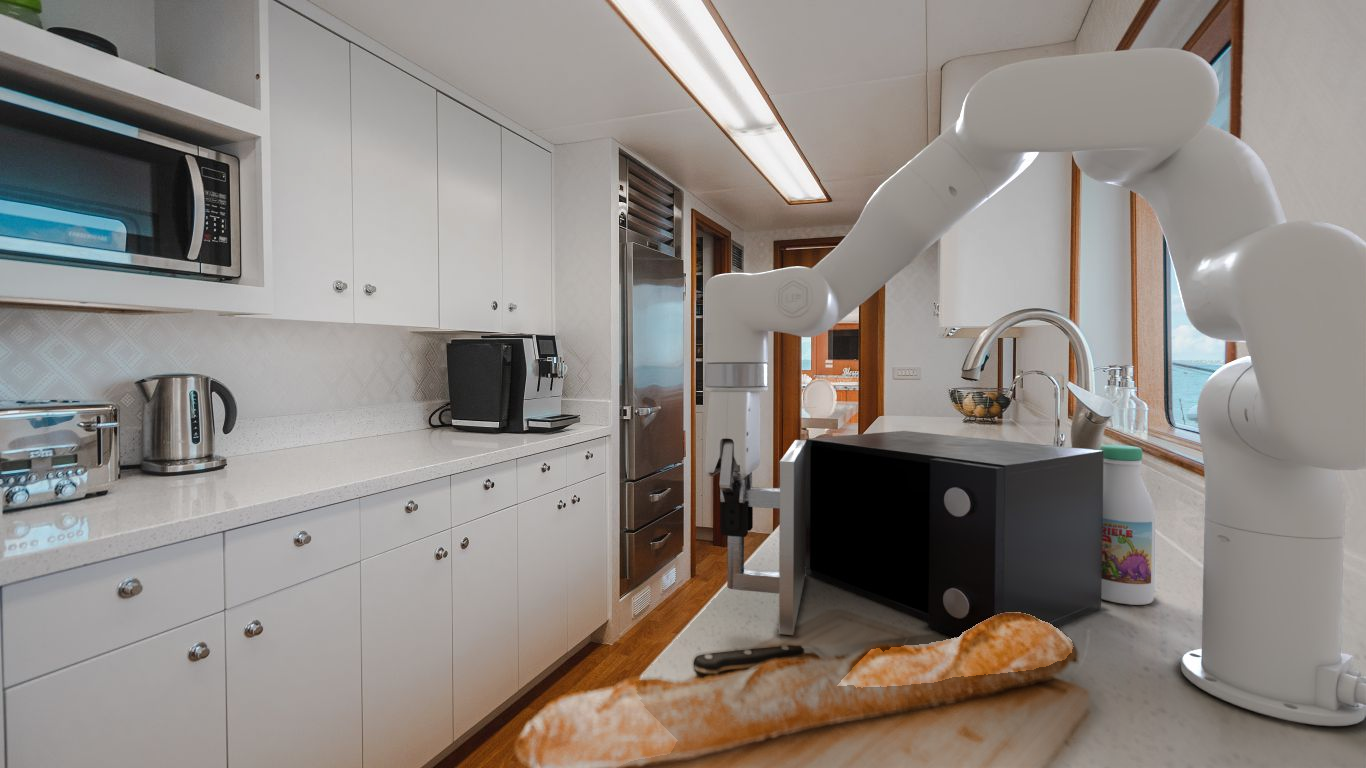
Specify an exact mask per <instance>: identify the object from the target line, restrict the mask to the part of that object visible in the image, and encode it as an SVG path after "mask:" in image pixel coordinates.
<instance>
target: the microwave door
mask: <svg viewBox="0 0 1366 768" xmlns="http://www.w3.org/2000/svg"><path fill="white" fill-rule="evenodd" d="M806 446H807V445H806V439H801V440H800V439H795V440H794V441H793V442H792V444H791V445H790V447H789V448H788V449H787V451H786V452H785V454H784V455H783V456H782V458H781V459H780V460H779V487H763V486H762V487H759V486H752V487H745V502H748V507H753V508H762V509H779V538H778V539H779V541H778V542H779V545H778V548H779V549H778V551H779V553H778V555H779V559H778V562H779V563H778V564H779V566H778V567H779V568H778V571H776V570H775V571H774V570H764V569H751V568H745V537H736V536H726V537H727V543H726V544H727V545H726V546H727V547H726V548H727V550H726V551H727V553H726V554H727V558H726V559H727V562H726V563H727V572H726V573H727V574H726V575H727V578H726V580H727V581H726V586H727V588H728V589H729V590H733V591H743V592H755V593H765V594H775V595H776V594H778V633H779V634H780V635H785V636H787V635H788V636H794V633H795V629H796V628H795V627H796V623H797V617H798V613H799V608H800V603H801V598H802V594H803V589H804V584H805V578H806Z"/></svg>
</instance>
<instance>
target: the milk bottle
mask: <svg viewBox="0 0 1366 768" xmlns="http://www.w3.org/2000/svg"><path fill="white" fill-rule="evenodd" d="M1099 450H1101V451H1104V458H1103V459H1104V465H1103V525H1102V585H1101V600H1104V601H1108V602H1111V603H1117V604H1124V605H1132V606H1133V605H1135V606H1141V605H1148V604H1152V603H1153V601H1154V599H1155V592H1156V591H1155V589H1156V585H1155V584H1156V536H1157V535H1156V533H1157V531H1156V529H1157V528H1156V511H1155V506H1154V502H1153V499H1152V497H1151V495H1150V493H1149V491H1148V489H1147V487H1146V485H1145V483H1144V481H1143V477H1142V474H1141V467H1140V466H1141V465H1142V464H1143V462H1142V460H1143V448H1141V447H1140V446H1139V447H1138V446H1134V445H1124V444H1103V445H1101V446H1100V447H1099Z"/></svg>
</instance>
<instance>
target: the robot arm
mask: <svg viewBox="0 0 1366 768" xmlns="http://www.w3.org/2000/svg"><path fill="white" fill-rule="evenodd" d="M1219 98H1220V83H1219V79H1218V76H1217V73H1216V71H1215V69H1214V67H1213V66H1212V64H1210V63H1209V62H1208V61H1207V60H1206V59H1204V58H1203V57H1201V56H1200V55H1197V54H1196V53H1195V52H1192V51H1188V50H1184V49H1181V48H1172V47H1171V48H1170V47H1145V48H1144V47H1143V48H1134V49H1123V50H1113V51H1101V52H1090V53H1081V54H1070V55H1069V54H1068V55H1060V56H1051V57H1041V58H1033V59H1028V60H1027V59H1026V60H1021V61H1018V62H1017V61H1016V62H1014V63H1008V64H1005V65H1002V66H1000V67H998V68H995V69H993V70H991V71H989V72H987V73H986V74H985V75H983V76H982V77H980V78H979V79H978V80H977V81H976V82H974V84H973V85H972V86H971V88H970V90H969V91H968V93H967V95H966V96H965V99H964V101H963V102H962V103H963V104H962V108H961V112H960V114H959V115H960V116H959V117H958V119H956V121H954V122H953V123H952V124H951V125H950V126H949V127H947V128H946V129H945V130H944V131H943V132H941V133H940V135H938V136H937V137H936V138H935V139H934V140H933V141H931V142H930V143H929V144H927V145H926V147H924V148H922V150H920V152H919V153H917V154H916V155H915V156H914V157H913V158H911V159H910V160H908V162H907V163H906V164H905V165H903V166H902V167H901V168H900V169H898V170H897V171H896V172H895V173H894V174H893V175H891V176H890V177H889V178H887V179H886V180H885V181H884V182H883V183H882V184H880V186H878V187H877V189H876V190H875V192H873V194H872V195H871V196H870V197H869V199H868V201H867V203H866V204H865V206H864V208H863V210H862V212H861V214H860V216H859V218H858V219H857V221H856V222H855V223H854V225H853V226H852V228H851V229H850V231H849V232H848V233H847V234H846V236H845V237H844V238H843V239H842V240H841V241H840V242H839V243H838V245H837V246H835V248H833V250H831V251H830V252H829V253H828V254H827V255H825V256H824V258H822V259H821V260H820V261H819V262H817V263H816V264H815V265H814V266H813V267H811V268H810V267H807V266H800V265H799V266H797V265H796V266H787V267H783V268H778V269H773V270H768V271H763V272H758V273H748V272H731V273H721V274H715V275H714V276H712V277H710V278H709V279H708V280H707V281H706V284H705V288H704V391H705V392H709V398H708V406H707V414H706V415H707V416H706V431H705V458H704V461H705V462H704V473H705V474H706V475H707V476H708V477H714V476H715V475H717V474H719V481H718V482H719V489H720V491H719V492H720V494H719V496H720V497H719V500H720V501H719V514H720V515H719V516H720V517H719V521H720V522H719V524H720V526H719V527H720V531H719V532H720V535H722V536H724V537H727V536H736V537H744V538H746V537H747V536H748V535H749V532H750V531H752V530H753V528H754V527H753V526H754V520H753V519H754V507H748V502H745V487H753V472H754V471H755V470H756V469H757V468H758V467H759V465H760V462H761V448H762V447H761V443H762V442H761V439H762V438H761V437H762V436H761V434H762V433H761V432H762V431H761V429H762V428H761V427H762V426H761V398H760V397H761V396H760V393H761V392H762V393H763V392H769V332H775V333H782V334H788V335H793V336H797V337H801V338H813V337H818V336H820V335H822V334H824V333H827V332H828V331H829V330H830V329H832V328H833V327H835V326H836V325H837V324H839V323H840V322H841V321H842V320H843V319H844V318H846V317H847V316H848V315H850V314H852V312H854V311H855V310H856V309H857V308H858V307H859V306H861V305H862V304H863V303H865V302H866V301H867V300H868V299H869V298H871V297H872V296H873V295H874V294H875V293H876V292H878V291H879V290H880V289H881V288H882V287H884V285H886V284H887V283H888V282H889V281H890V280H892V279H893V278H894V277H896V275H898V274H899V273H901V272H902V271H903V270H904V269H905V268H907V267H908V266H909V265H911V264H912V263H913V262H915V261H916V260H917V259H918V258H919V257H920V256H921V255H922V254H923V253H924V252H925V251H926V250H927V249H929V248H931V246H932V245H934V243H936V242H937V241H938V240H939V239H941V238H942V237H943V236H945V235H946V234H947V233H948V232H950V230H952V229H953V228H954V227H955V226H956V225H957V224H959V223H960V222H961V221H962V220H964V219H965V218H966V217H968V216H969V215H970V214H971V213H972V212H974V211H975V210H977V208H979V207H980V206H982V204H984V203H985V202H986V201H989V199H990V198H992V197H993V196H994V195H995V194H997V193H998V192H999V191H1000V190H1002V189H1003V188H1004V187H1006V186H1007V185H1008V184H1009V183H1010V182H1012V181H1013V180H1014V179H1016V178H1017V177H1018V176H1019V175H1020V174H1021V173H1022V172H1024V171H1025V169H1027V168H1028V167H1029V166H1030V165H1031V164H1032V163H1033V161H1034V160H1035V159H1036V158H1037V157H1038V155H1039V153H1071V155H1072V157H1073V161H1074V162H1075V164H1076V166H1077V168H1078V169H1079V170H1080V172H1082V173H1083V174H1084V175H1085V176H1087V177H1089V178H1090V179H1093V180H1095V181H1097V182H1100V183H1104V184H1109V185H1114V186H1118V187H1121V188H1123V189H1126V190H1129V191H1131V192H1133V193H1134V194H1136V195H1138V196H1139V197H1140V198H1141V199H1143V200H1145V202H1146V203H1147V204H1148V205H1149V206H1150V208H1151V209H1152V211H1153V213H1154V214H1155V216H1156V219H1157V221H1158V223H1159V227H1160V229H1161V231H1162V233H1163V234H1162V235H1163V236H1164V239H1165V242H1166V246H1167V250H1168V253H1169V257H1170V261H1171V264H1172V268H1173V272H1174V275H1175V279H1176V283H1177V287H1178V291H1179V295H1180V298H1181V299H1180V300H1181V303H1182V307H1183V310H1184V313H1185V315H1186V317H1187V320H1188V321H1189V322H1190V324H1191V325H1192V326H1193V328H1195V329H1196V330H1197V331H1198V332H1199V333H1200V334H1202V335H1204V336H1206V337H1209V338H1211V339H1213V340H1216V341H1222V342H1231V343H1232V342H1233V343H1235V342H1236V343H1245V345H1246V348H1247V352H1248V356H1244V357H1241V358H1238V359H1235V360H1233V361H1231V362H1228V363H1226V364H1224V365H1222V366H1221V367H1220V368H1218V369H1217V370H1216V371H1215V372H1214V373H1213V374H1211V376H1209V378H1207V380H1206V381H1205V383H1204V385H1203V387H1202V389H1201V391H1200V394H1199V397H1198V399H1197V400H1198V401H1197V409H1196V419H1197V420H1196V421H1197V429H1198V434H1199V440H1200V446H1201V452H1202V460H1203V471H1204V472H1203V473H1204V517H1203V562H1202V564H1203V565H1202V607H1201V608H1202V611H1201V612H1202V614H1201V648H1200V649H1193V650H1190V651H1187V652H1185V653H1184V654H1182V655H1181V658H1180V667H1181V668H1180V669H1181V672H1182V674H1183V675H1184V677H1185V678H1186V679H1187V680H1189V681H1190V683H1192V684H1194V686H1196V687H1198V688H1199V689H1201V690H1202V691H1204V692H1206V693H1208V694H1210V695H1211V696H1213V697H1216V698H1218V699H1219V700H1222V701H1224V702H1227V703H1229V704H1231V705H1234V706H1237V707H1239V708H1242V709H1246V710H1248V711H1252V712H1255V713H1257V714H1260V715H1263V716H1264V715H1265V716H1268V717H1272V718H1275V719H1279V720H1286V721H1289V722H1295V723H1298V724H1299V723H1300V724H1305V725H1312V726H1322V727H1323V726H1324V727H1346V726H1347V727H1348V726H1352V725H1357V724H1359V723H1361V722H1363V721H1364V720H1365V718H1366V676H1364V675H1362V674H1361V671H1359V670H1356V669H1353V663H1354V661H1353V660H1354V658H1353V657H1354V656H1353V655H1351V654H1347V653H1344V652H1342V643H1343V641H1342V638H1343V604H1344V603H1343V602H1344V601H1343V600H1344V599H1343V598H1344V566H1345V565H1344V562H1345V560H1344V559H1345V535H1346V505H1345V497H1344V491H1343V486H1342V482H1341V477H1340V474H1339V471H1357V470H1358V471H1359V470H1365V469H1366V241H1365V240H1364V239H1363V238H1361V237H1360V236H1359V235H1357V234H1355V232H1353V231H1351V230H1349V229H1347V228H1345V227H1342V226H1339V225H1337V224H1333V223H1329V222H1325V221H1319V220H1297V221H1290V222H1289V221H1288V220H1287V218H1286V214H1285V212H1284V208H1283V206H1282V203H1281V201H1280V198H1279V196H1278V193H1277V190H1276V187H1275V185H1274V182H1273V180H1272V177H1271V175H1270V173H1269V171H1268V169H1267V167H1266V165H1265V163H1264V161H1263V160H1262V159H1261V158H1260V156H1259V155H1258V154H1257V153H1256V152H1255V150H1254V149H1253V148H1252V147H1250V146H1249V145H1248V144H1247V143H1245V141H1243V140H1241V139H1240V138H1239V137H1237V136H1235V135H1234V134H1232V133H1230V132H1229V131H1226V130H1224V129H1222V128H1220V127H1218V126H1216V125H1213V124H1211V123H1208V122H1209V121H1210V119H1212V116H1213V114H1214V112H1215V110H1216V108H1217V107H1218V102H1219Z"/></svg>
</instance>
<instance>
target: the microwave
mask: <svg viewBox="0 0 1366 768" xmlns="http://www.w3.org/2000/svg"><path fill="white" fill-rule="evenodd" d="M805 440H806V569H805V575H808V576H810V577H813V578H815V579H817V580H820V581H823V582H825V583H828V584H831V585H833V586H836V587H838V588H840V589H843V590H845V591H848V592H851V593H854V594H856V595H859V596H861V597H863V598H867V599H868V600H871V601H873V602H876V603H878V604H881V605H884V606H887V607H890V608H892V609H894V610H896V611H898V612H902V613H904V614H907V615H910V616H913V617H915V618H918V619H920V620H922V621H925V622H928V623H927V624H928V625H927V627H928V628H931V629H933V630H935V631H938V632H939V633H942V634H946V635H948V636H951V637H952V638H956V639H958V638H957V637H959V636H960V635H961V634H962V632H964V631H966V630H968V629H970V628H972V627H973V626H975V625H976V624H978V623H980V622H982V621H984V620H986V619H988V618H990V617H992V616H994V615H997V614H1000V613H1005V612H1021V613H1026V614H1030V615H1032V616H1035V617H1036V618H1038V619H1040V620H1042V621H1045V622H1048V623H1050V624H1052V625H1053V626H1054V627H1056V628H1055V629H1057V628H1060V627H1062V626H1064V625H1067V624H1069V623H1071V622H1073V621H1075V620H1078V619H1081V618H1083V617H1085V616H1088V615H1090V614H1092V613H1094V612H1096V611H1099V610H1101V609H1102V599H1101V585H1102V525H1103V465H1104V459H1103V458H1104V451H1101V450H1100V449H1091V448H1080V447H1070V446H1061V445H1060V446H1059V445H1051V444H1041V443H1040V444H1039V443H1029V442H1020V441H1012V440H1011V441H1009V440H1002V439H1001V440H999V439H992V438H991V439H989V438H979V437H971V436H970V437H969V436H960V435H950V434H940V433H939V434H938V433H931V432H930V433H929V432H919V431H910V430H898V431H897V430H896V431H885V432H872V433H860V434H847V435H835V436H834V435H833V436H824V437H823V436H821V437H811V438H810V437H809V438H805Z"/></svg>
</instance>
